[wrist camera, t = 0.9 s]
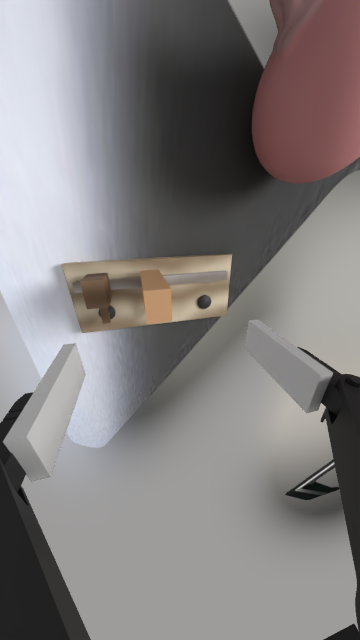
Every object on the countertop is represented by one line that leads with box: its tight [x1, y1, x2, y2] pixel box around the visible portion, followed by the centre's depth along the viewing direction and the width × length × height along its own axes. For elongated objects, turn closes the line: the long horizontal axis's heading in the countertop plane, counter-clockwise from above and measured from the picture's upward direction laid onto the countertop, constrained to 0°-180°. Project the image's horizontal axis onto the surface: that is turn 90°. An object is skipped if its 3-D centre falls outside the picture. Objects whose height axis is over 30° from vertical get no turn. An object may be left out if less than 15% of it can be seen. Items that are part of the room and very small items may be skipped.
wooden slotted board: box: [62, 254, 232, 333], centre depth 32 cm, size 12×28×7 cm, turn 92°
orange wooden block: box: [140, 270, 172, 324], centre depth 27 cm, size 8×3×12 cm, turn 2°
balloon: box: [252, 0, 360, 183], centre depth 21 cm, size 15×20×15 cm
